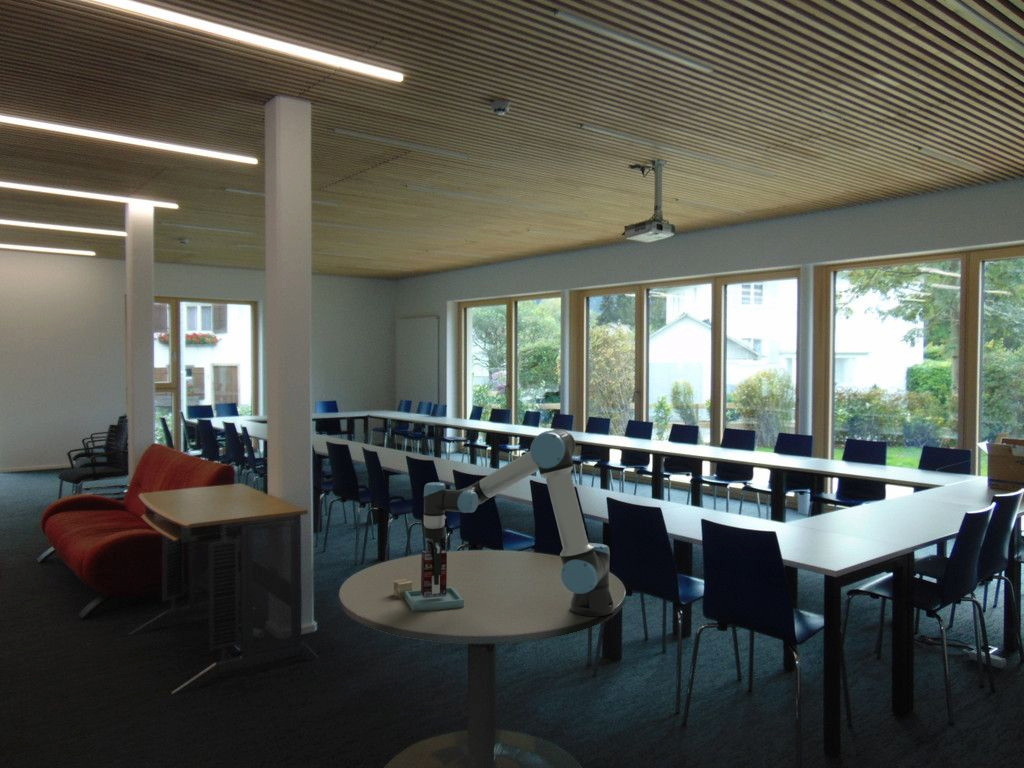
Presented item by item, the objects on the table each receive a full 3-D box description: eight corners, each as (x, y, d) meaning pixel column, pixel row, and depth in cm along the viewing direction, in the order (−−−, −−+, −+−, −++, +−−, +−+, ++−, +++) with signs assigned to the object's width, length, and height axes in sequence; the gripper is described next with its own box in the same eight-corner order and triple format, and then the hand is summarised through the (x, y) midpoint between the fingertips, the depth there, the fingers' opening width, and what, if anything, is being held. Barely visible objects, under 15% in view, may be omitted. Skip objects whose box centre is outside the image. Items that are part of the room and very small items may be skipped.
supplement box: (423, 598, 264) (423, 554, 264) (420, 595, 269) (420, 550, 268) (447, 596, 267) (447, 552, 266) (444, 592, 271) (444, 549, 271)
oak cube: (411, 595, 276) (411, 582, 275) (399, 598, 273) (399, 584, 273) (405, 592, 280) (405, 579, 280) (393, 594, 277) (393, 581, 277)
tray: (463, 606, 263) (463, 599, 263) (413, 611, 257) (413, 604, 257) (452, 593, 278) (452, 586, 278) (404, 598, 272) (404, 591, 272)
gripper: (450, 530, 260) (450, 597, 260) (438, 520, 277) (438, 583, 277) (429, 532, 257) (429, 599, 258) (418, 521, 274) (418, 584, 275)
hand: (434, 590), depth 268 cm, fingers closed on supplement box, 5 cm apart
